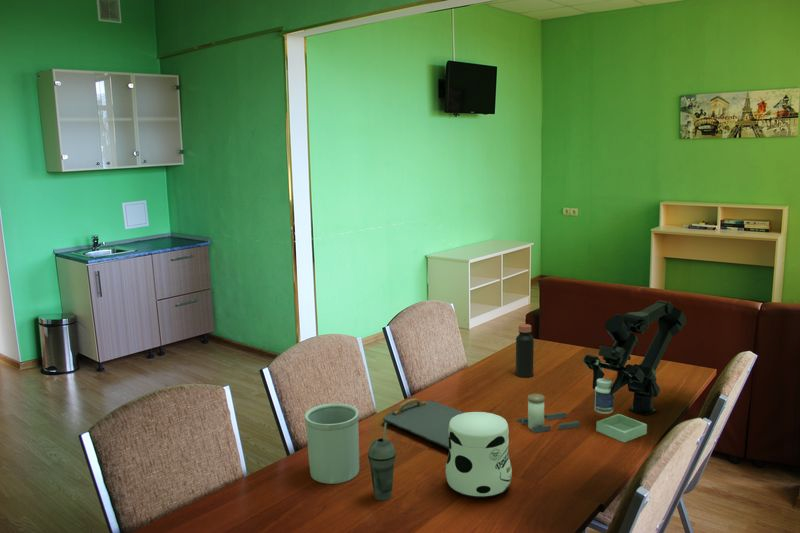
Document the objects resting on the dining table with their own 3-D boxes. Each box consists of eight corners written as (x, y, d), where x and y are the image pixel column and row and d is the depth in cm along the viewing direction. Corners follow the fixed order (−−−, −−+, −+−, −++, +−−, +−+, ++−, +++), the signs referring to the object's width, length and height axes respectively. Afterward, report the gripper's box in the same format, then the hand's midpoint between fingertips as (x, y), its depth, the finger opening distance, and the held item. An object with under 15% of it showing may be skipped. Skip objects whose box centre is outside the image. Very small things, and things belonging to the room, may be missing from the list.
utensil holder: (339, 490, 179) (337, 428, 176) (296, 477, 187) (293, 417, 184) (371, 467, 191) (369, 409, 188) (329, 456, 199) (327, 399, 196)
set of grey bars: (561, 413, 227) (562, 409, 226) (580, 426, 216) (580, 422, 216) (515, 420, 222) (515, 416, 222) (532, 434, 211) (532, 429, 211)
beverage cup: (368, 489, 179) (366, 418, 176) (395, 488, 180) (394, 416, 176) (369, 504, 172) (367, 429, 168) (398, 502, 173) (396, 428, 169)
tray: (618, 422, 218) (618, 413, 218) (646, 433, 210) (647, 424, 209) (596, 430, 212) (596, 421, 212) (624, 442, 204) (624, 432, 203)
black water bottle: (534, 377, 262) (535, 327, 258) (517, 378, 262) (517, 328, 259) (531, 372, 269) (532, 323, 265) (514, 372, 269) (514, 323, 265)
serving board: (512, 439, 209) (512, 420, 208) (461, 463, 194) (460, 442, 193) (425, 405, 238) (425, 388, 237) (375, 424, 223) (374, 406, 222)
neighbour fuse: (535, 422, 220) (536, 392, 218) (547, 427, 216) (548, 397, 214) (524, 426, 217) (524, 396, 215) (535, 431, 213) (536, 400, 211)
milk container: (523, 497, 174) (523, 431, 170) (460, 508, 169) (459, 441, 166) (495, 467, 190) (495, 406, 187) (436, 477, 185) (435, 415, 182)
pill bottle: (616, 413, 209) (617, 382, 207) (599, 415, 208) (600, 384, 206) (607, 406, 215) (608, 376, 213) (590, 408, 214) (591, 378, 212)
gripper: (586, 329, 216) (565, 371, 211) (640, 341, 202) (619, 386, 197) (600, 347, 223) (580, 388, 218) (653, 360, 209) (633, 404, 204)
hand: (601, 391), depth 209 cm, fingers closed on pill bottle, 6 cm apart
